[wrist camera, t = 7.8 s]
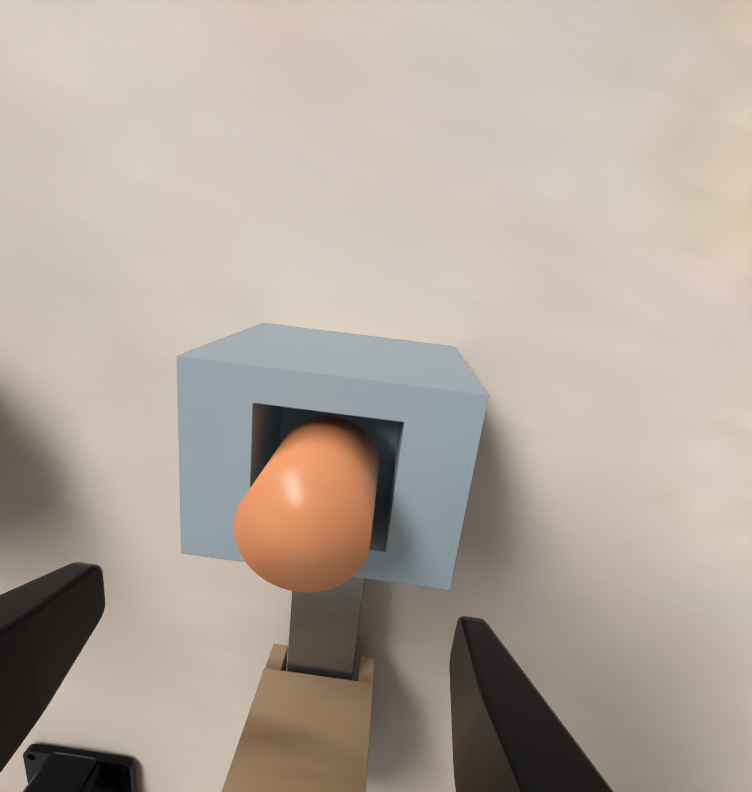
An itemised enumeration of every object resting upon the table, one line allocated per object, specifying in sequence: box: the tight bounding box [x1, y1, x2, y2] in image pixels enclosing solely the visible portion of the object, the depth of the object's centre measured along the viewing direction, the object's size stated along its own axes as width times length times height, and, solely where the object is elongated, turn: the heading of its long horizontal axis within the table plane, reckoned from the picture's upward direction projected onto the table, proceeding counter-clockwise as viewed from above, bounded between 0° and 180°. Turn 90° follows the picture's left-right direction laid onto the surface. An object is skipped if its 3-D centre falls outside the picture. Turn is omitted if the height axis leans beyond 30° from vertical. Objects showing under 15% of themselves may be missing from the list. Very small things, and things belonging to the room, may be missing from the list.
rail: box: [287, 577, 364, 680], centre depth 19 cm, size 18×5×5 cm, turn 173°
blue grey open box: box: [177, 323, 489, 590], centre depth 15 cm, size 6×8×7 cm
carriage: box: [222, 644, 375, 792], centre depth 18 cm, size 5×5×6 cm
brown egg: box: [234, 416, 379, 592], centre depth 11 cm, size 3×3×4 cm
